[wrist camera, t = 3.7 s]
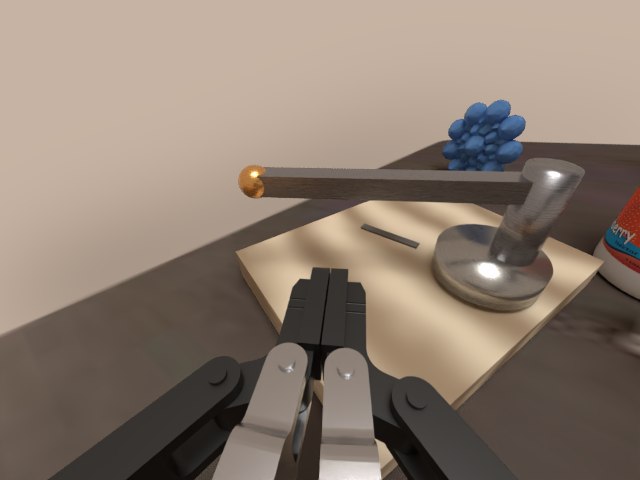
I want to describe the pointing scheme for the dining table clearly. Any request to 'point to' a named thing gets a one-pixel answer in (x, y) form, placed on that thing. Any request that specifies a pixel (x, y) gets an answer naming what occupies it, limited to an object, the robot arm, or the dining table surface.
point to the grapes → (484, 138)
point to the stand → (412, 292)
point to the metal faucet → (461, 240)
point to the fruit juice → (623, 249)
